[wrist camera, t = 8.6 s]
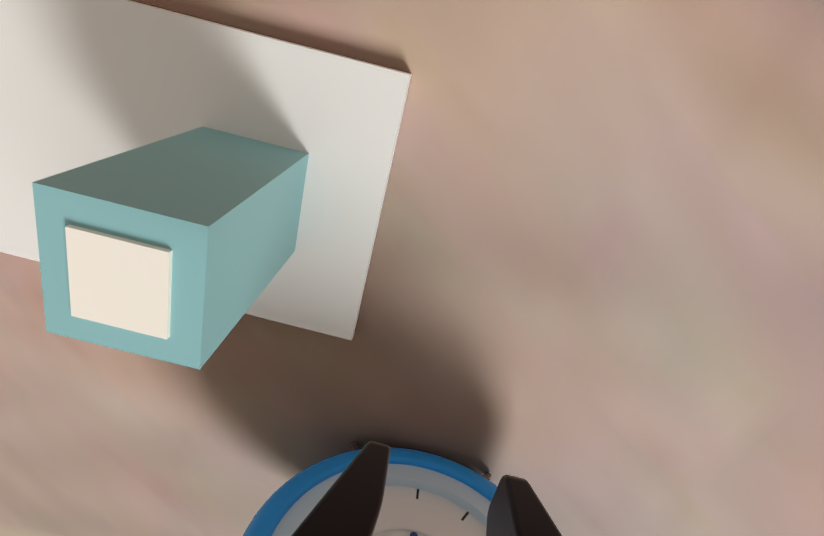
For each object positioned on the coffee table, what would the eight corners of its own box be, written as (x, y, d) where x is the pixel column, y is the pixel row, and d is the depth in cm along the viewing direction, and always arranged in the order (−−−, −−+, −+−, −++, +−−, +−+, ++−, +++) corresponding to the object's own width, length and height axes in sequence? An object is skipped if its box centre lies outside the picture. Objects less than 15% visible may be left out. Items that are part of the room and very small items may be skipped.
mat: (411, 73, 18) (410, 74, 17) (354, 333, 22) (351, 340, 22) (-39, -44, 17) (-55, -47, 17) (-2, 243, 22) (-13, 248, 21)
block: (309, 153, 18) (205, 229, 11) (294, 251, 20) (197, 373, 13) (202, 126, 18) (26, 184, 11) (197, 226, 20) (42, 334, 13)
